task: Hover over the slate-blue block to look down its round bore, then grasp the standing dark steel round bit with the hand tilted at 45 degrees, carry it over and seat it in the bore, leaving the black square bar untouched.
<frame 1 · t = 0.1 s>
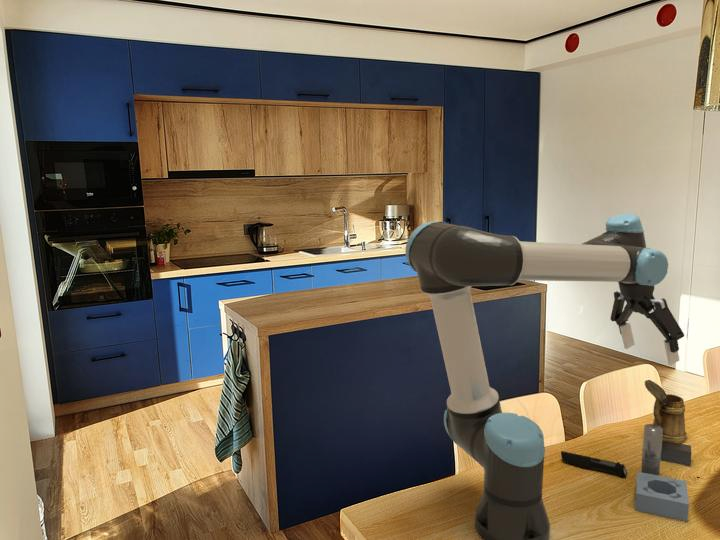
hand: (650, 354, 143), 28 cm above the table, tool tilted 20°, fingers open, 13 cm apart
round bit: (650, 473, 140), on the table
electric trimmer: (593, 470, 143), on the table
wooden mug: (662, 438, 158), on the table
bore block: (660, 503, 127), on the table
square bar: (667, 459, 147), on the table
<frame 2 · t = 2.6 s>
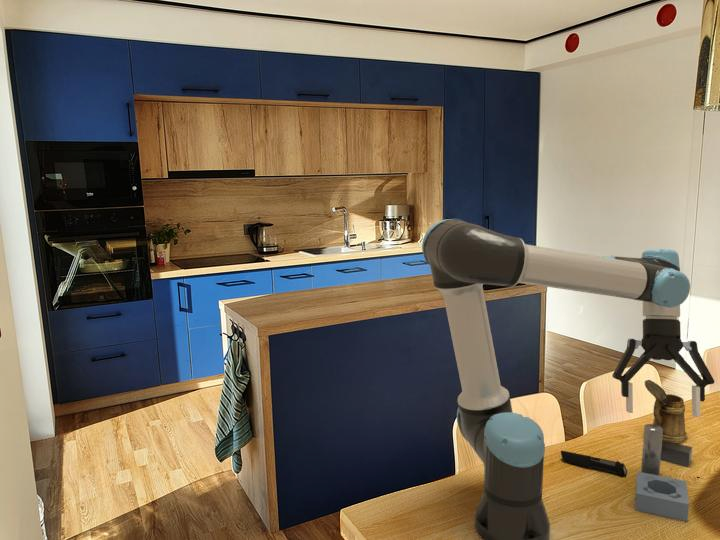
hand: (662, 414, 127), 20 cm above the table, tool tilted 15°, fingers open, 13 cm apart
nothing on the table moved.
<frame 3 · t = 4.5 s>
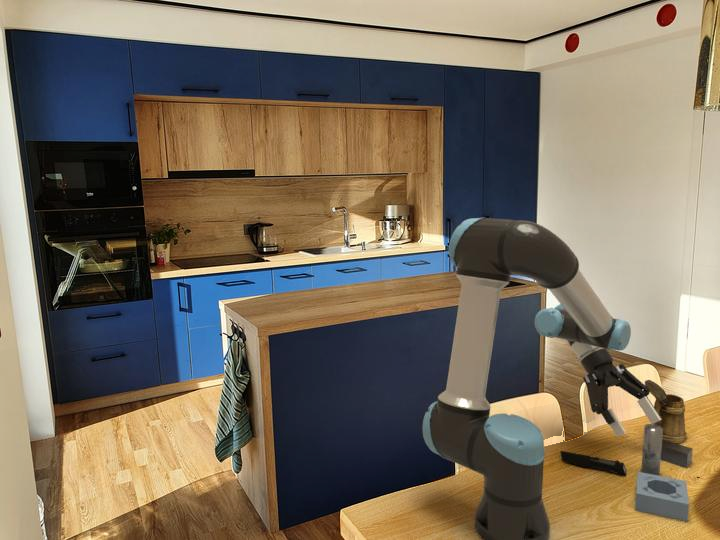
hand: (639, 428, 143), 10 cm above the table, tool tilted 45°, fingers open, 13 cm apart
nothing on the table moved.
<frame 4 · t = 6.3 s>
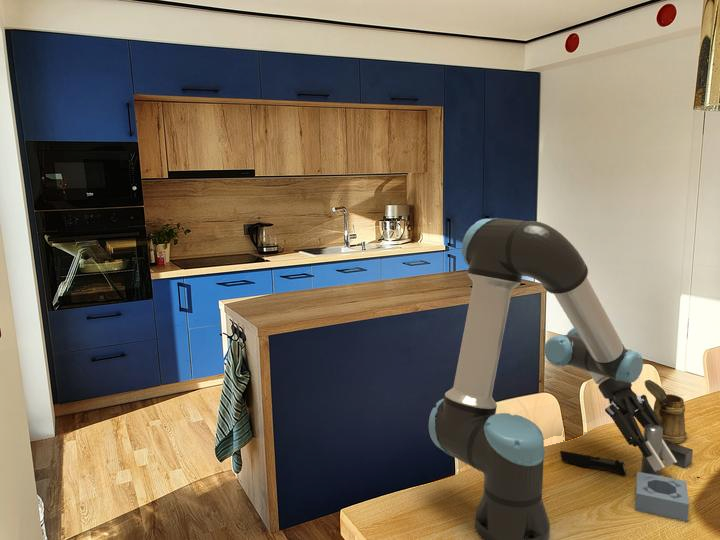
hand: (665, 466, 136), 4 cm above the table, tool tilted 45°, fingers closed on round bit, 4 cm apart
round bit: (650, 473, 140), on the table, touching gripper
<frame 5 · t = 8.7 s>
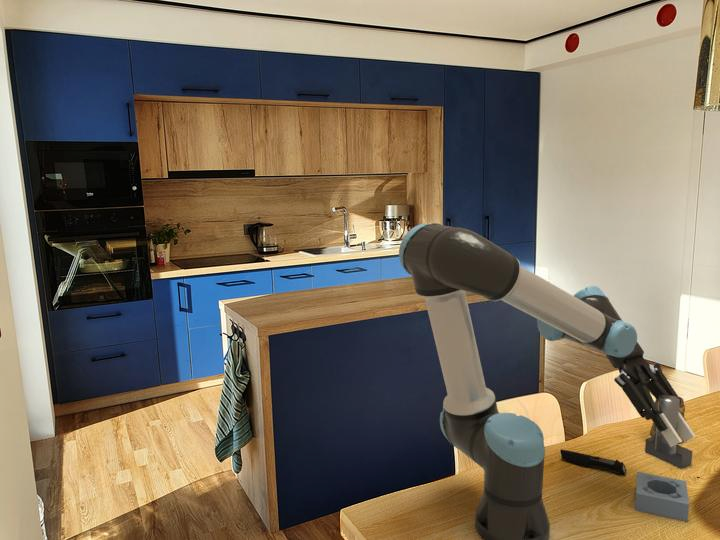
hand: (683, 441, 121), 17 cm above the table, tool tilted 45°, fingers closed on round bit, 4 cm apart
round bit: (665, 450, 125), point 13 cm above the table, touching gripper
when the fingers open (7 cm above the table, at t = 11.0 s): round bit drops 3 cm, resting in bore block.
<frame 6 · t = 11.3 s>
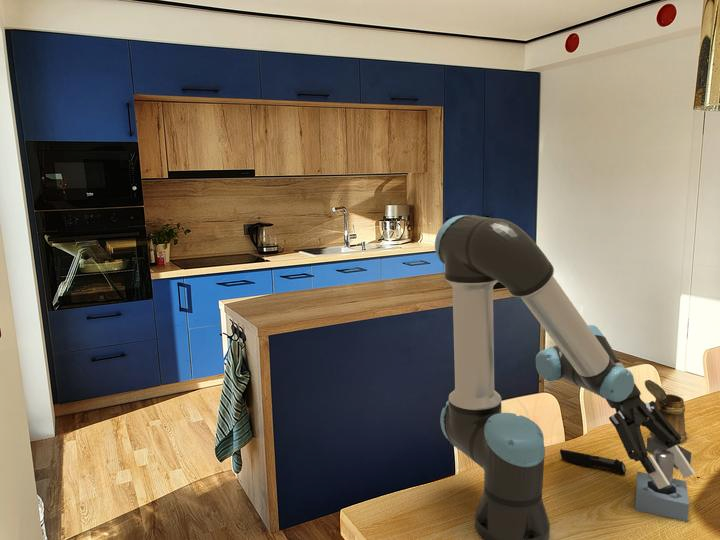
hand: (677, 481, 123), 7 cm above the table, tool tilted 45°, fingers open, 8 cm apart
round bit: (660, 503, 127), resting in bore block
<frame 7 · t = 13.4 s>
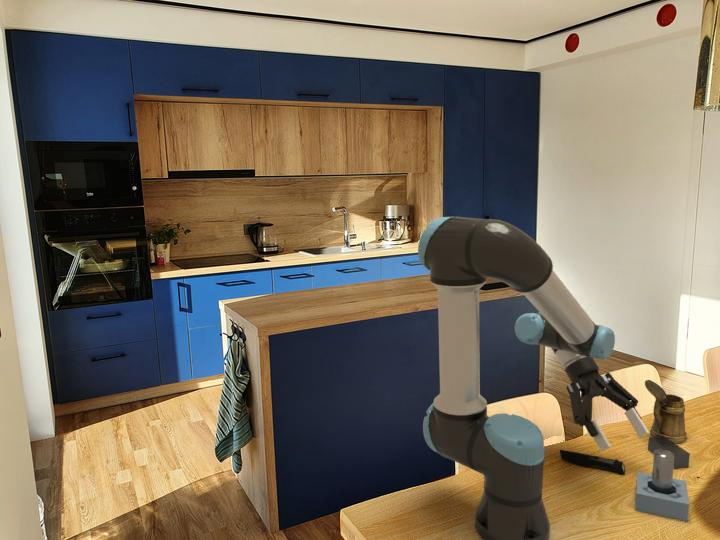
hand: (625, 442, 134), 11 cm above the table, tool tilted 45°, fingers open, 13 cm apart
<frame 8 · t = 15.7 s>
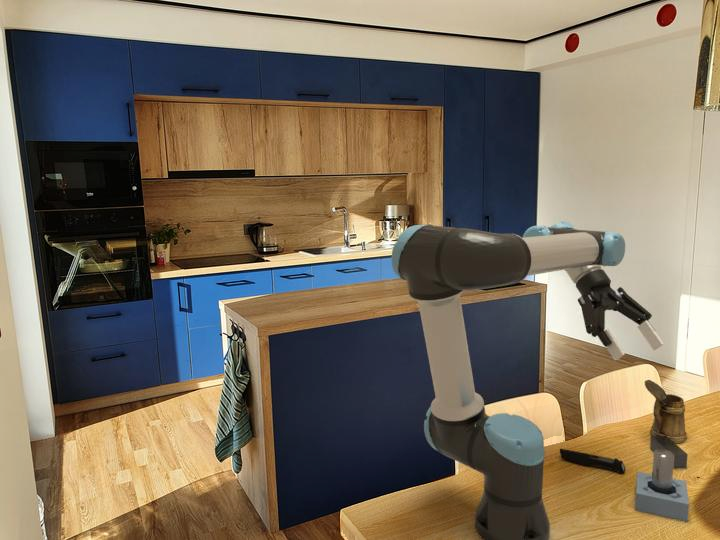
hand: (640, 352, 129), 33 cm above the table, tool tilted 45°, fingers open, 13 cm apart
at the end: round bit 0.0 cm off-centre on the bore block, point 0.0 cm above the bore block's base; round bit tilted 0°; the gripper is holding nothing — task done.
